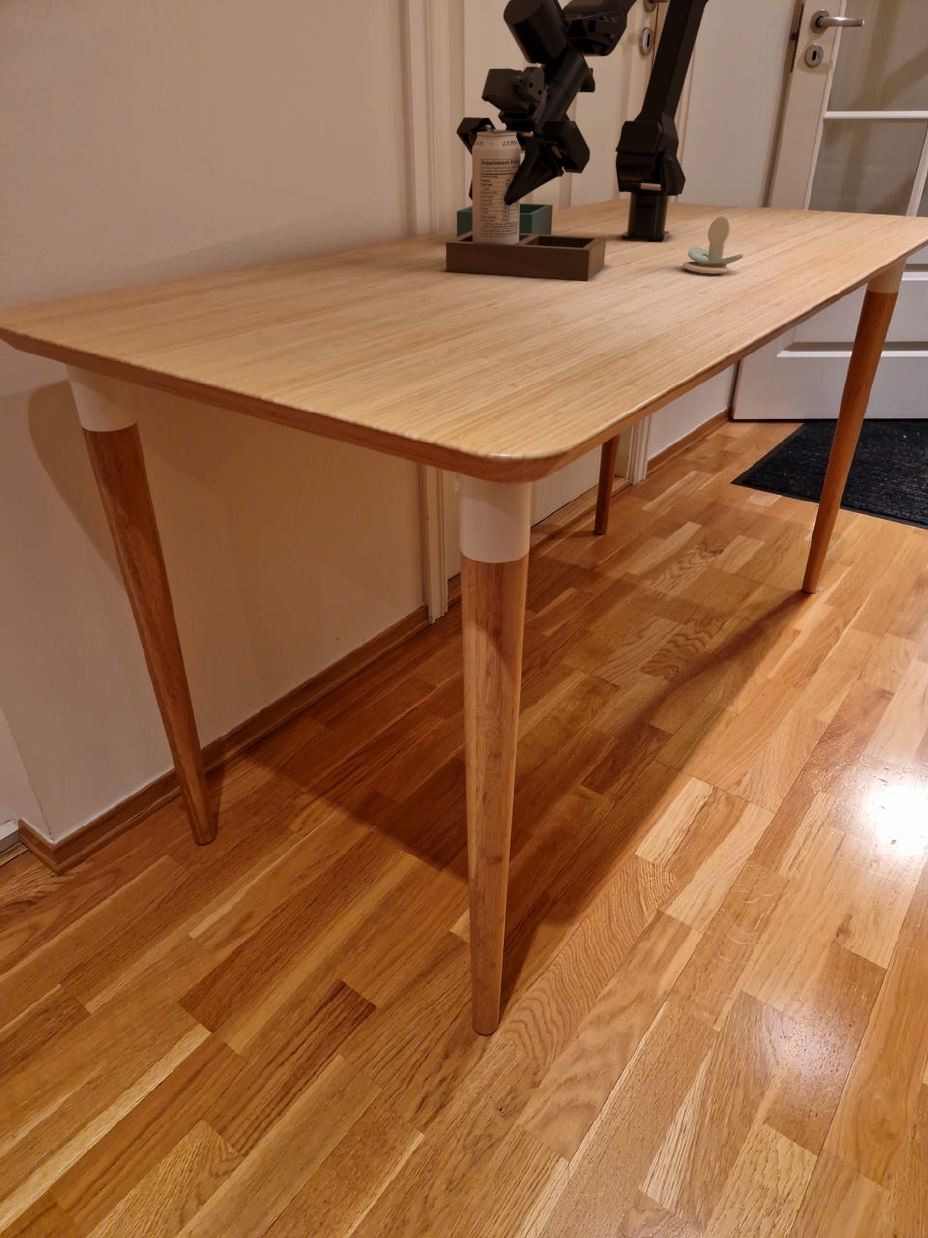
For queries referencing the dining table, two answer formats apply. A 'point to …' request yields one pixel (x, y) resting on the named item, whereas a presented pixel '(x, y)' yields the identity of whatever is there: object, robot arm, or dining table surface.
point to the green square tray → (530, 219)
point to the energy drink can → (495, 187)
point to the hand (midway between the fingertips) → (488, 200)
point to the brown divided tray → (529, 256)
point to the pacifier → (712, 250)
